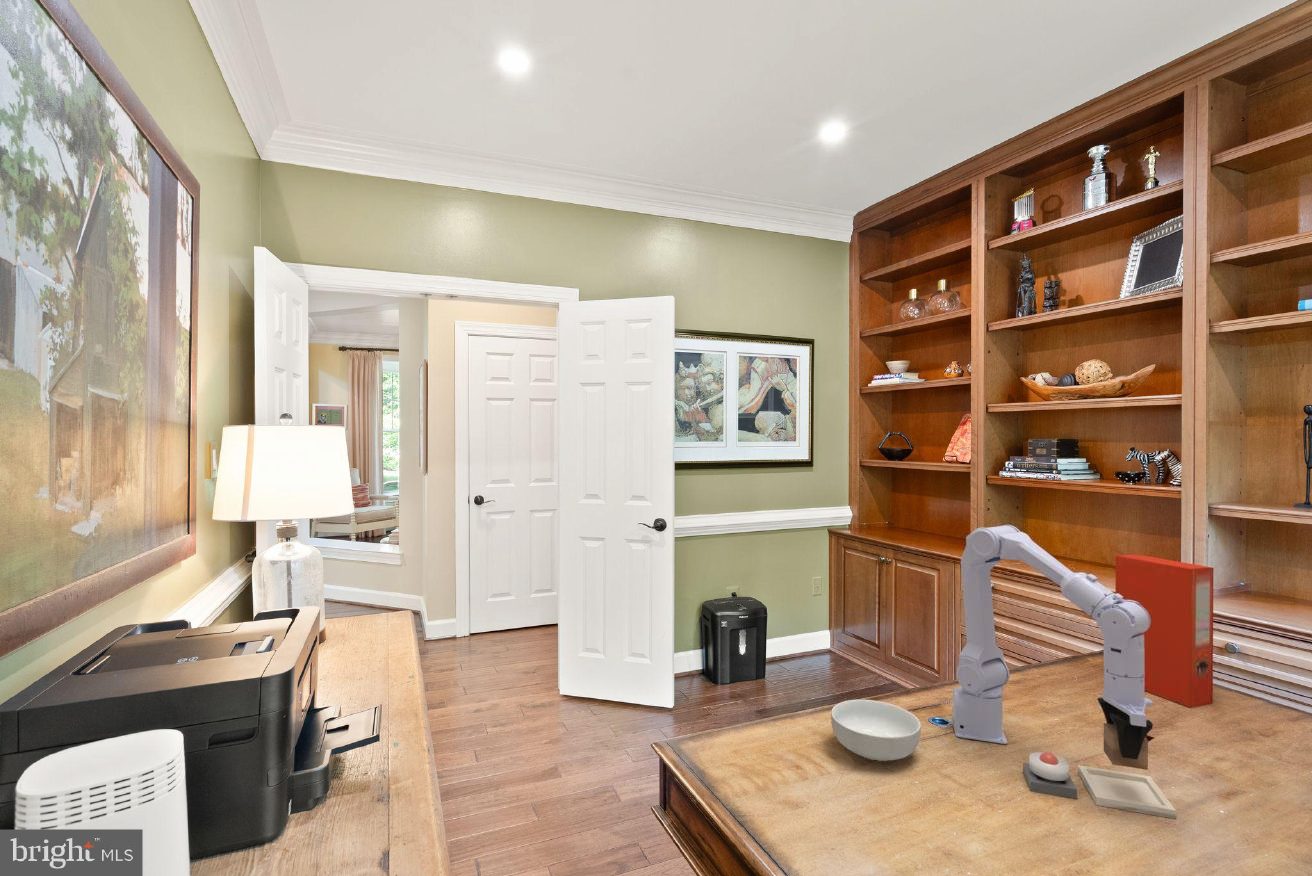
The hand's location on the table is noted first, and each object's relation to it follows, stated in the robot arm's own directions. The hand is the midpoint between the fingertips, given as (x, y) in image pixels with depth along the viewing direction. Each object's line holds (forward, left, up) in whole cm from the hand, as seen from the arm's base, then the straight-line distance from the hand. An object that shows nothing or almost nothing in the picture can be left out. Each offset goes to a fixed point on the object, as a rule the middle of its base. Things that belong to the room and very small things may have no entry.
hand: (1123, 749), depth 109 cm
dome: (-12, -1, -7) cm, 14 cm away
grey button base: (-12, -1, -8) cm, 14 cm away
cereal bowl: (-41, +1, -8) cm, 42 cm away
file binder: (+24, +57, -8) cm, 62 cm away
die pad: (0, 0, -8) cm, 8 cm away
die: (0, 0, -2) cm, 2 cm away
